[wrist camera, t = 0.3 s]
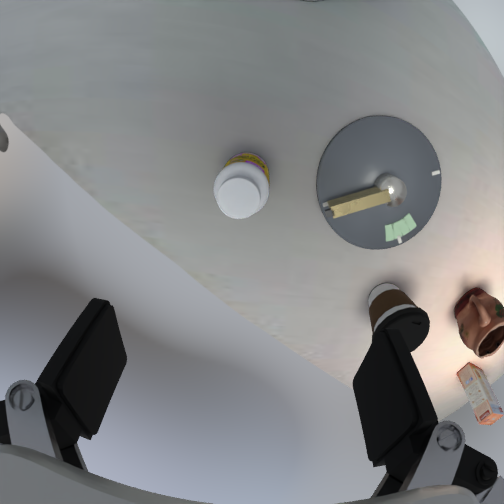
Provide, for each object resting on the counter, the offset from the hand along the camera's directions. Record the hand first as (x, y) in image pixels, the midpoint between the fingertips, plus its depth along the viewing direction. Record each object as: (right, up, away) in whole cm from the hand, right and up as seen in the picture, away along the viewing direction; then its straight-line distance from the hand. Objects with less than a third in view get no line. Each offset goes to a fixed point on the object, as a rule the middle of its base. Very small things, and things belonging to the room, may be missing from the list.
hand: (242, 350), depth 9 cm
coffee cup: (+26, -5, +42) cm, 49 cm away
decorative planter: (+50, -8, +42) cm, 66 cm away
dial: (+21, +14, +31) cm, 40 cm away
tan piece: (+17, +12, +31) cm, 37 cm away
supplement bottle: (0, +15, +32) cm, 36 cm away
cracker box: (+71, -35, +56) cm, 97 cm away
